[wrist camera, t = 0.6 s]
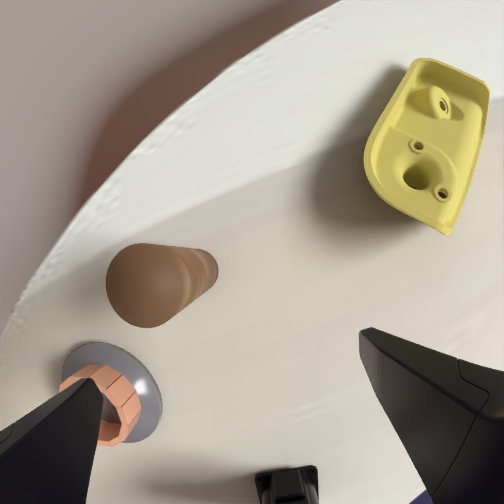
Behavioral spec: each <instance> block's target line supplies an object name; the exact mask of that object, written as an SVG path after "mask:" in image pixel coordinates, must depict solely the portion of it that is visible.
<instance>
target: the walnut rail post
mask: <svg viewBox="0 0 504 504" xmlns="http://www.w3.org/2000/svg"><path fill="white" fill-rule="evenodd" d="M217 277H218V265H217V262H216V260H215V259H214V257H213V256H212V255H211V254H210V253H208V252H206V251H204V250H201V249H192V248H183V247H174V246H164V245H155V244H145V243H140V244H134V245H130V246H128V247H126V248H124V249H123V250H121V251H120V252H119V253H118V254H117V255H116V256H115V257H114V259H113V260H112V262H111V264H110V266H109V268H108V272H107V276H106V291H107V295H108V298H109V301H110V303H111V305H112V307H113V309H114V310H115V312H116V313H117V314H118V315H119V316H120V317H121V318H122V319H123V320H125V321H126V322H128V323H129V324H131V325H134V326H137V327H141V328H152V327H157V326H160V325H162V324H164V323H165V322H167V321H168V320H170V319H171V318H172V317H174V316H175V315H176V314H177V313H179V312H180V311H181V310H183V309H184V308H185V307H186V306H188V305H189V304H190V303H192V302H193V301H194V300H195V299H197V298H198V297H199V296H201V295H202V294H203V293H204V292H206V291H207V290H208V289H210V288H211V287H212V286H213V285H214V283H215V282H216V280H217Z"/></svg>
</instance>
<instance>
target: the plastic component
mask: <svg viewBox="0 0 504 504" xmlns="http://www.w3.org/2000/svg"><path fill="white" fill-rule="evenodd" d="M489 96H490V89H489V87H488V85H487V84H486V83H485V82H484V81H482V80H480V79H478V78H476V77H474V76H472V75H470V74H468V73H466V72H463V71H461V70H459V69H457V68H455V67H452V66H450V65H448V64H445V63H443V62H440V61H438V60H435V59H431V58H419V59H416V60H414V61H413V62H412V64H411V65H410V67H409V69H408V71H407V72H406V74H405V76H404V77H403V79H402V81H401V82H400V84H399V86H398V88H397V89H396V91H395V93H394V94H393V96H392V98H391V99H390V101H389V103H388V104H387V106H386V108H385V109H384V111H383V113H382V114H381V116H380V117H379V119H378V121H377V123H376V124H375V126H374V128H373V130H372V132H371V134H370V136H369V138H368V141H367V143H366V146H365V150H364V168H365V173H366V176H367V179H368V181H369V183H370V185H371V186H372V188H373V189H374V191H375V192H376V193H377V195H378V196H379V197H380V198H381V199H382V200H384V201H385V202H386V203H388V204H389V205H391V206H392V207H394V208H395V209H397V210H399V211H401V212H403V213H405V214H406V215H408V216H410V217H412V218H414V219H417V220H419V221H421V222H423V223H425V224H427V225H428V226H430V227H432V228H434V229H435V230H437V231H439V232H441V233H442V234H444V235H446V236H447V237H448V236H449V235H450V233H451V231H452V229H453V227H454V225H455V223H456V220H457V218H458V216H459V213H460V211H461V208H462V205H463V203H464V200H465V197H466V194H467V191H468V188H469V185H470V182H471V179H472V176H473V173H474V169H475V166H476V162H477V159H478V155H479V151H480V147H481V143H482V139H483V134H484V129H485V124H486V118H487V111H488V104H489ZM440 105H441V107H440ZM441 108H442V109H441ZM409 186H413V187H415V188H417V189H418V190H416V189H413V188H411V187H409ZM438 192H443V193H444V194H445V195H446V198H445V199H443V198H441V197H440V196H439V195H438Z"/></svg>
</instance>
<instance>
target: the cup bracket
mask: <svg viewBox="0 0 504 504" xmlns="http://www.w3.org/2000/svg"><path fill="white" fill-rule="evenodd" d="M81 378H92V379H93V380H94V381H95V383H96V385H97V386H98V388H99V390H100V391H101V393H102V395H103V398H104V403H103V410H102V416H101V424H100V431H99V437H98V442H97V445H102V446H109V447H113V446H115V445H117V444H119V443H121V442H122V443H133V442H138V441H141V440H143V439H145V438H147V437H148V436H150V435H151V434H152V433H153V431H154V430H155V429H156V427H157V425H158V423H159V421H160V419H161V415H162V399H161V394H160V391H159V388H158V386H157V384H156V382H155V380H154V378H153V377H152V375H151V374H150V372H149V371H148V370H147V368H146V367H145V366H144V365H143V364H142V363H141V362H140V361H139V360H138V359H137V358H135V357H134V356H133V355H131V354H130V353H129V352H127V351H125V350H124V349H122V348H119V347H117V346H115V345H112V344H108V343H101V342H95V343H89V344H86V345H84V346H82V347H80V348H78V349H76V350H75V351H73V352H72V353H71V354H70V355H69V356H68V358H67V359H66V361H65V364H64V367H63V372H62V382H63V383H62V384H61V385H60V387H59V393H60V392H61V391H63V390H64V389H66V388H67V387H69V386H70V385H72V384H73V383H75V382H76V381H78V380H79V379H81Z"/></svg>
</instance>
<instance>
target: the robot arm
mask: <svg viewBox="0 0 504 504" xmlns="http://www.w3.org/2000/svg"><path fill="white" fill-rule="evenodd" d="M359 353H360V358H361V360H362V363H363V365H364V367H365V370H366V372H367V375H368V377H369V380H370V382H371V384H372V387H373V389H374V392H375V394H376V396H377V398H378V400H379V402H380V404H381V405H382V407H383V409H384V411H385V413H386V414H387V416H388V418H389V420H390V421H391V423H392V425H393V427H394V429H395V431H396V432H397V434H398V436H399V438H400V440H401V442H402V443H403V445H404V447H405V449H406V451H407V453H408V454H409V456H410V458H411V460H412V462H413V464H414V466H415V468H416V470H417V471H418V473H419V475H420V477H421V479H422V481H423V483H424V485H425V487H426V489H427V491H428V493H429V495H430V496H431V497H432V501H433V503H434V504H504V371H500V370H496V369H492V368H488V367H484V366H480V365H477V364H474V363H470V362H467V361H464V360H462V359H458V360H457V358H456V357H453V356H450V355H447V354H444V353H441V352H438V351H436V350H433V349H430V348H427V347H424V346H422V345H419V344H416V343H413V342H410V341H408V340H405V339H402V338H400V337H397V336H394V335H391V334H389V333H386V332H383V331H381V330H378V329H375V328H372V327H370V328H367V329H364V330H361V331H360V332H359ZM103 403H104V398H103V395H102V393H101V391H100V390H99V388H98V386H97V385H96V383H95V381H94V380H93V379H92V378H81V379H79V380H78V381H76V382H75V383H73V384H72V385H70V386H69V387H67V388H66V389H64V390H63V391H61V392H60V393H58V394H57V395H55V396H54V397H52V398H51V399H49V400H48V401H46V402H45V403H43V404H42V405H40V406H39V407H37V408H36V409H34V410H33V411H31V412H30V413H28V414H27V415H25V416H24V417H22V418H20V419H19V420H17V421H16V422H15V423H13V424H11V425H10V426H8V427H7V428H5V429H3V430H2V431H0V504H86V498H87V492H88V486H89V480H90V475H91V470H92V465H93V460H94V455H95V451H96V446H97V442H98V437H99V431H100V424H101V416H102V410H103ZM311 470H313V471H311ZM259 477H260V478H259ZM255 482H256V487H257V491H258V496H259V500H260V504H319V501H318V500H319V495H318V471H317V467H316V466H309V467H304V468H298V469H292V470H285V471H278V472H270V473H261V474H257V475H255Z"/></svg>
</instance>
